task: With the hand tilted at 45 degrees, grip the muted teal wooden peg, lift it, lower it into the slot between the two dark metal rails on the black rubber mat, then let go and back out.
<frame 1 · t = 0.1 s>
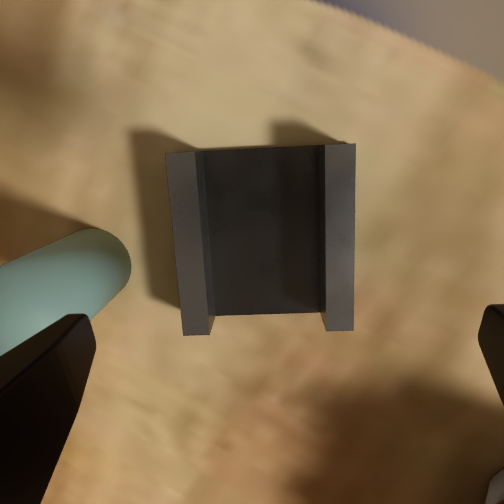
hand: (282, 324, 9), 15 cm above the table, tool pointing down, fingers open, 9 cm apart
teal peg: (95, 264, 25), on the table
rail dock: (264, 234, 25), on the table
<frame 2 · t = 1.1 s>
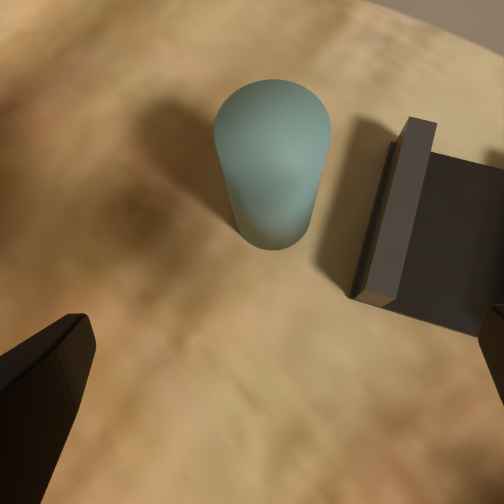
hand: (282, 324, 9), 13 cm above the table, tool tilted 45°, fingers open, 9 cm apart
teal peg: (272, 214, 24), on the table
rail dock: (457, 241, 23), on the table
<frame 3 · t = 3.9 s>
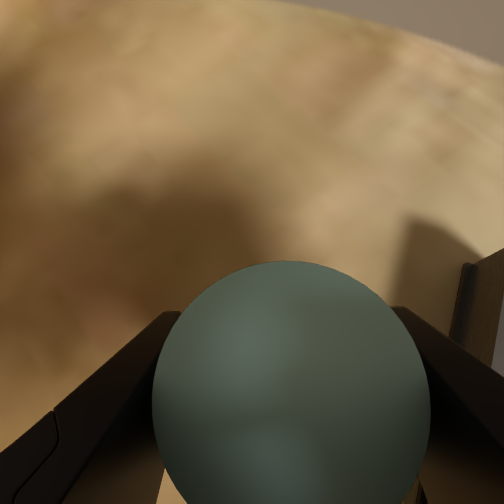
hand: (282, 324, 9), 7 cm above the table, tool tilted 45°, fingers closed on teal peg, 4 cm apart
teal peg: (280, 380, 15), on the table, touching gripper
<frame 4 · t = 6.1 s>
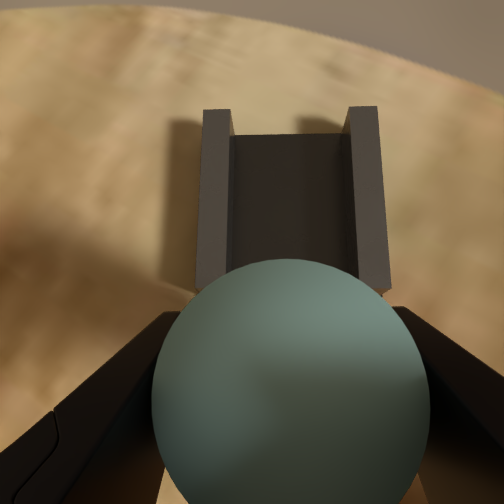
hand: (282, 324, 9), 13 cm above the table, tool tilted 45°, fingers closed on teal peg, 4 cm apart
teal peg: (279, 379, 15), point 7 cm above the table, touching gripper
rail dock: (288, 212, 24), on the table
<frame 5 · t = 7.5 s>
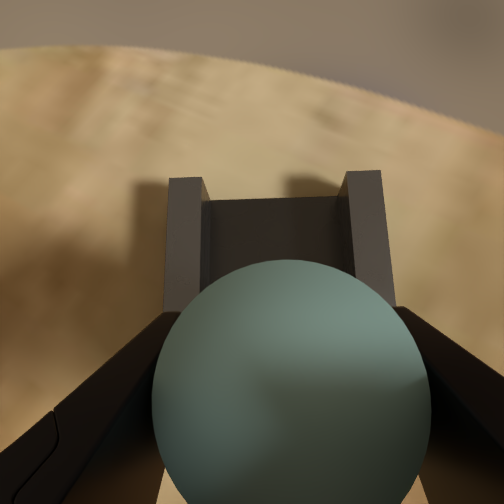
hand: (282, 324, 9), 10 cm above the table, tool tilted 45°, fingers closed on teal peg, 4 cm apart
teal peg: (279, 380, 15), point 4 cm above the table, touching gripper
rail dock: (276, 296, 20), on the table
when the fingers open (8 cm above the table, at t = 8.7 s): teal peg stays where it is, resting on rail dock.
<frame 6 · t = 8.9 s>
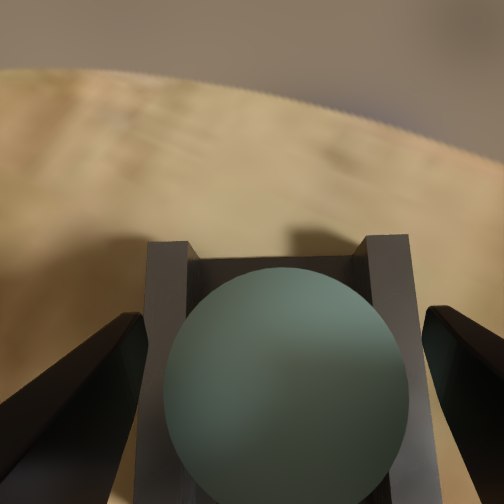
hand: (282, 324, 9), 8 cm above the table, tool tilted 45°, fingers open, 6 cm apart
teal peg: (280, 382, 16), resting on rail dock
rail dock: (279, 379, 17), on the table
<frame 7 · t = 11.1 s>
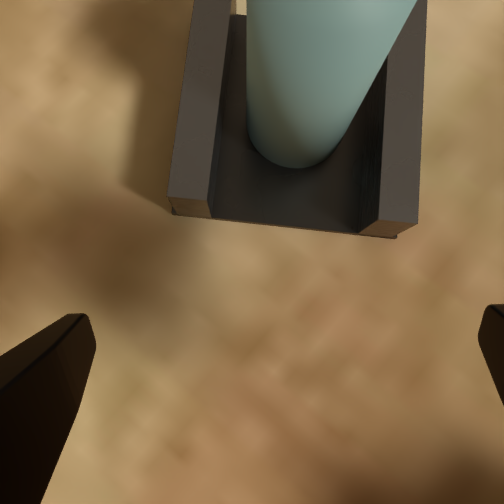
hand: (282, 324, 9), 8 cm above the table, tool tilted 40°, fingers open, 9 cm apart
teal peg: (295, 121, 19), resting on rail dock
rail dock: (293, 122, 19), on the table
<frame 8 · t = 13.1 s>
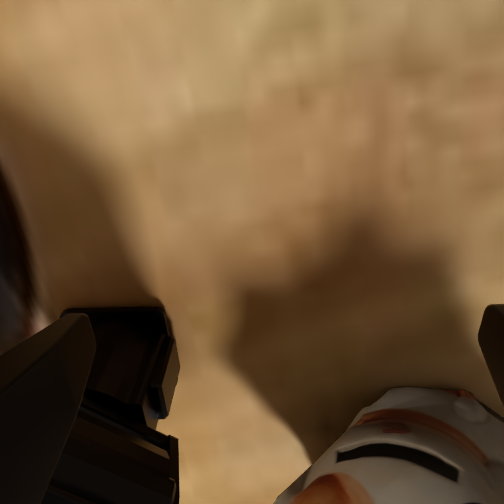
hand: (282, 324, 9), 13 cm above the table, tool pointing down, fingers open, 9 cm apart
lucky cat figurine: (387, 435, 31), on the table
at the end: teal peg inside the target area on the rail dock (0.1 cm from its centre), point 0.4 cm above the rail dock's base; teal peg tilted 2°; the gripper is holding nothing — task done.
